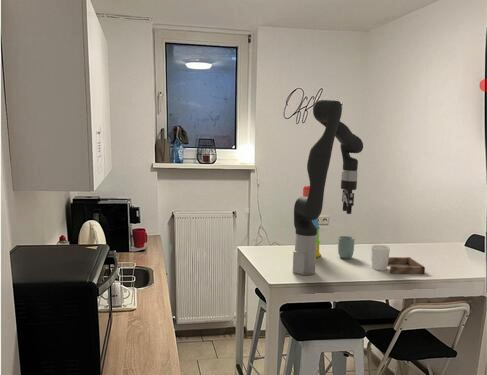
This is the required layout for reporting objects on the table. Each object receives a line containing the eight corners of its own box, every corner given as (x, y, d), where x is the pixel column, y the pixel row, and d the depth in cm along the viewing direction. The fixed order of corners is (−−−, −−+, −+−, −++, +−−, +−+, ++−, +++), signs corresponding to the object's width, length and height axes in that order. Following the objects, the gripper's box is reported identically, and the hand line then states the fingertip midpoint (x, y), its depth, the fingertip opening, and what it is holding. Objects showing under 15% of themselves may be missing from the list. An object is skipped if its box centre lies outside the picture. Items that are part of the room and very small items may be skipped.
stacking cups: (315, 259, 205) (319, 188, 200) (296, 255, 210) (299, 186, 205) (323, 254, 213) (327, 186, 209) (304, 251, 219) (307, 184, 214)
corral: (391, 273, 186) (391, 267, 186) (378, 263, 201) (378, 257, 200) (424, 273, 187) (424, 267, 186) (409, 263, 202) (409, 257, 201)
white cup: (376, 271, 188) (378, 249, 187) (366, 266, 196) (368, 245, 195) (391, 270, 191) (393, 249, 189) (381, 265, 198) (383, 244, 197)
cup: (352, 255, 212) (353, 236, 211) (354, 260, 204) (355, 240, 203) (336, 254, 213) (337, 235, 212) (338, 259, 205) (339, 239, 204)
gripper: (360, 181, 199) (358, 215, 200) (353, 178, 213) (350, 210, 215) (344, 180, 199) (342, 214, 201) (338, 177, 213) (336, 209, 215)
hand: (346, 212), depth 208 cm, fingers open, 8 cm apart
